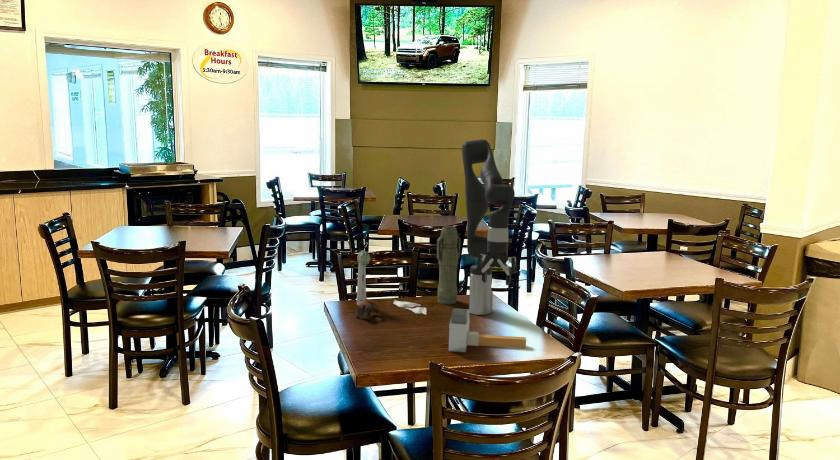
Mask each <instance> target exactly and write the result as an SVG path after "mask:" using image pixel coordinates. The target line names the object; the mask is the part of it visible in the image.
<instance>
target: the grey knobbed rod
mask: <svg viewBox="0 0 840 460" xmlns="http://www.w3.org/2000/svg"><path fill="white" fill-rule="evenodd" d="M356 257H357V262H358V269H357V270H358V271H357V291H356V306H357V305H358V306H359V304H360V303H361V302H363V301H365V299H368V297H367V282H366V281H367V278H366V277H367V276H366V275H367V273H366V270H367V269H366V267H367V266H368V265H369V263H370V261H371V256H370V254H369V252H367V251H366V250H361V251H359V252H358V255H357V256H356ZM358 306H357V307H358Z"/></svg>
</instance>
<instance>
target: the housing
mask: <svg viewBox="0 0 840 460" xmlns="http://www.w3.org/2000/svg"><path fill="white" fill-rule="evenodd" d="M450 314H451V316H450V320H449V325H448V329H449V330H448V352H453V353H455V352H457V353H467V348H468V345H467V331H470V316H471V315H470V314H471V313H470V310H469V308H467V309H464V308H452V312H451V313H450Z"/></svg>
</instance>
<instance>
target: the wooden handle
mask: <svg viewBox="0 0 840 460" xmlns="http://www.w3.org/2000/svg"><path fill="white" fill-rule="evenodd" d="M467 346H476V347H480V346H481V347H498V348H515V349H526V348H527V337H525V336H513V335H512V336H511V335H494V334H493V335H492V334H480V332H479V331H470V330H469V331H467Z"/></svg>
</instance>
